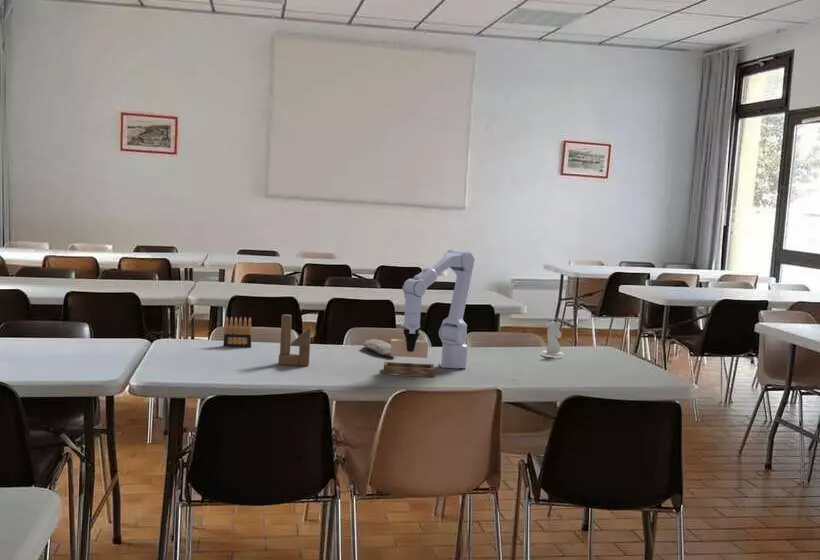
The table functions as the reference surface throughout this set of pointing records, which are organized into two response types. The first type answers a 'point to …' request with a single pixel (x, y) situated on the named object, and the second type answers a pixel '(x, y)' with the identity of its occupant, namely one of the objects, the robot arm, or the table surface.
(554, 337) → the chess piece
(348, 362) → the table surface
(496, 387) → the table surface
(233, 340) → the ammunition clip
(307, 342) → the tan wooden block stack
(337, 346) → the table surface
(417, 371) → the wooden tray
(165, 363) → the table surface
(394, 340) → the tan rectangular block
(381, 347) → the stone tool
